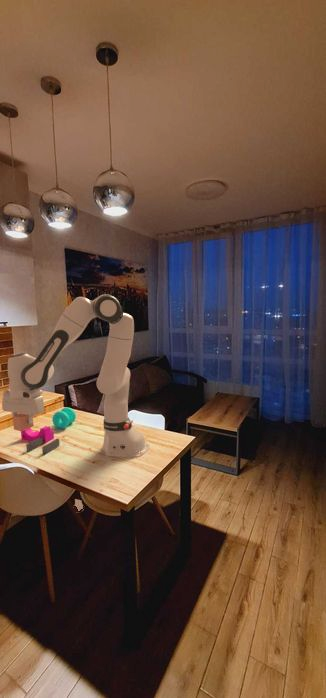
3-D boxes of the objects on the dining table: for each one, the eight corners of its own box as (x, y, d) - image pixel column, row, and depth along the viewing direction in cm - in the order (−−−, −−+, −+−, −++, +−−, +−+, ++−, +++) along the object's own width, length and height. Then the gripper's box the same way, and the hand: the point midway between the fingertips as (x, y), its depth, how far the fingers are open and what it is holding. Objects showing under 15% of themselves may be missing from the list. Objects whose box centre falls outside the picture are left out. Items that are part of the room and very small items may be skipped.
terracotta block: (33, 426, 129) (32, 413, 129) (21, 431, 124) (19, 417, 124) (26, 424, 132) (25, 411, 131) (13, 429, 127) (12, 415, 126)
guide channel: (59, 445, 143) (59, 438, 142) (44, 455, 133) (44, 447, 133) (42, 442, 146) (41, 436, 146) (26, 451, 137) (26, 444, 136)
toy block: (54, 438, 151) (53, 424, 151) (45, 443, 146) (44, 429, 145) (30, 435, 156) (29, 422, 155) (21, 440, 150) (20, 426, 149)
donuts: (51, 429, 164) (50, 411, 163) (61, 422, 174) (60, 406, 173) (67, 430, 162) (66, 412, 161) (77, 423, 172) (76, 407, 171)
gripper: (-4, 391, 127) (-1, 422, 129) (34, 394, 120) (36, 427, 122) (8, 388, 133) (11, 417, 135) (45, 390, 126) (47, 421, 128)
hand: (23, 422), depth 128 cm, fingers closed on terracotta block, 5 cm apart
